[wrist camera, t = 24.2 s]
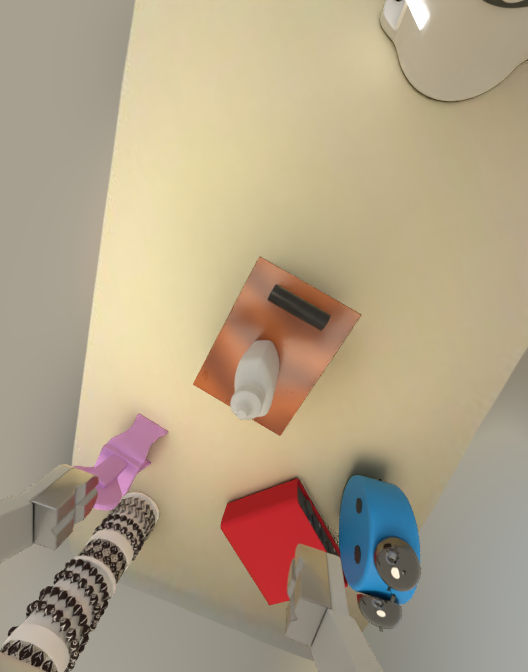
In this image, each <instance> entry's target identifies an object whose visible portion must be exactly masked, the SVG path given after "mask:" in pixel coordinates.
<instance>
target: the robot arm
mask: <svg viewBox="0 0 528 672" xmlns="http://www.w3.org/2000/svg"><path fill="white" fill-rule="evenodd" d="M380 23H381V26H382V28H383V30H384V31H385V32H386V34H387V35H388V36H389V37H390V38H391V40H392V41H393V42H394V44H395V46H396V50H397V54H398V58H399V62H400V65H401V67H402V70H403V72H404V74H405V76H406V77H407V79H408V80H409V82H410V83H411V84H412V85H413V86H414V87H415V88H416V89H417V90H418V91H420V92H421V93H423V94H424V95H426V96H428V97H431V98H433V99H437V100H442V101H460V100H465V99H469V98H472V97H475V96H478V95H480V94H482V93H484V92H486V91H488V90H490V89H491V88H493V87H494V86H496V85H497V84H499V83H500V82H501V81H502V80H503V79H505V78H506V77H507V76H508V75H509V74H510V73H511V72H512V71H513V70H514V69H515V68H516V67H518V66H519V65H520V64H521V63H522V62H524V61H526V60H528V0H400V2H397V1H396V0H386V2H385V4H384V7H383V9H382V12H381V15H380ZM98 483H99V477H98V476H96V475H93V474H90V473H88V472H85V471H82V470H80V469H77V468H74V467H72V466H69V465H66V464H61V465H59V466H57V467H56V468H54V469H53V470H52V471H50V472H49V473H48V474H46V475H45V476H44V477H42V478H41V479H40V480H38V481H37V482H35V483H34V484H33V485H31V486H30V487H29V488H28V489H26V490H25V491H23V492H22V493H21V494H20V495H18V496H17V497H15V496H10V497H8V498H5V499H2V500H0V563H2V562H3V561H5V560H7V559H9V558H11V557H12V556H14V555H16V554H17V553H19V552H21V551H23V550H24V549H26V548H28V547H30V546H31V545H32V544H33V543H34V544H37V545H40V546H43V547H47V548H50V549H53V550H56V549H57V548H58V547H59V546H60V545H61V543H62V542H63V541H64V540H65V539H66V538H67V537H68V536H69V535H70V534H71V533H72V531H73V527H74V524H76V523H78V522H80V521H82V520H84V518H85V517H86V516H87V515H88V514H89V513H90V511H91V510H92V508H93V507H94V505H95V503H96V500H97V496H98V492H97V490H96V488H95V486H96V485H97V484H98ZM287 594H288V596H289V599H290V600H289V603H288V606H287V608H286V627H285V636H286V637H288V638H290V639H293V640H295V641H298V642H300V643H302V644H305V645H307V646H310V647H311V652H312V655H313V658H314V661H315V664H316V666H317V669H318V672H383V670H382V668H381V666H380V664H379V663H378V661H377V659H376V657H375V655H374V653H373V652H372V650H371V648H370V646H369V644H368V643H367V641H366V639H365V637H364V635H363V634H362V632H361V630H360V628H359V626H358V624H357V623H356V621H355V619H354V618H353V617H351V616H349V611H348V604H347V598H346V591H345V584H344V578H343V571H342V564H341V560H340V557H338V556H336V555H333V554H330V553H326V552H324V551H322V550H319V549H315V548H312V547H309V546H306V545H303V544H300V543H299V544H298V545H297V547H296V550H295V558H294V559H292V562H291V565H290V569H289V574H288V583H287ZM0 672H46V671H44V670H42V669H39V668H37V667H35V666H32V665H30V664H28V663H25V662H23V661H21V660H18V659H16V658H13V657H11V656H9V655H6V654H4V653H2V652H0Z"/></svg>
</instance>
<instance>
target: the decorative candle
mask: <svg viewBox="0 0 528 672" xmlns="http://www.w3.org/2000/svg"><path fill="white" fill-rule="evenodd" d="M110 512H111V514H109V515H108V517H107V518H105V519H104V520H103V521H102V524H101V525H100V526H98V527H97V528H96V529H95V532H94V533H93V536H92V537H91V538H90V539H89V541H88V542H87V543H86V546H85V548H84V549H83V550H82V551H81V552H80V553H79V555H78V556H77V557H74V558H73V559H71V560H70V561H69V562H67V563H66V564H65V569H64V570H63V571H61V572H60V573H58V574H56V575H55V577H54V586H52V587H50V586H48V587H46V588H45V589H43V590H42V591H41V592H40V596H39V600H36V601H34V602H33V603H31V604H30V605H28V607H27V613H26V616H27V619H26V621H25V622H24V623H23V624H21V625H20V626H17V627H12V628H11V629H10V630H9V632H8V636H9V637H8V639H7V640H6V641H5V642H4V643H3V646H2V649H1V651H0V652H2V653H4V654H6V655H9V656H11V657H13V658H16V659H18V660H21V661H23V662H25V663H28V664H30V665H32V666H35V667H37V668H39V669H42V670H44V671H46V672H69V671H71V670H72V669H73V668H74V665H75V661H76V660H77V659H78V657H79V653H81V652H82V651H83V650H84V645H86V643H87V642H88V639H89V637H88V634H89V632H90V631H93V630H94V629H95V628H96V625H97V622H98V621H99V619H100V617H101V616H102V615H103V614H104V610H105V609H106V608H107V606H108V601H107V600H108V599H110V598H111V597H112V596H113V594H114V592H115V589H116V584H117V582H118V580H119V579H120V577H121V576H122V574H123V573H124V572H125V571H126V569H127V568H128V566H129V564H130V563H131V561H134V560H135V558H136V556H137V554H138V551H140V550H141V547H142V546H143V544H144V542H145V541H146V540H147V539H148V536H149V535H150V533H151V532H152V530H153V528H154V526H155V524H156V523H157V521H158V518H159V509H158V507H157V505H156V503H155V502H154V501H153V500H152V499H151V498H150V497H149V496H147V495H145V494H143V493H140V492H130V493H127V494H126V495H125V496H123V497H122V498H121V501H120V502H119V504H118V505H117V506H116V507H115V508H114V509H112V510H111V511H110ZM102 605H103V606H102ZM101 606H102V608H101ZM91 623H92V624H91ZM90 624H91V625H90ZM89 626H90V627H89ZM82 637H83V639H82ZM81 639H82V642H81V644H80V645H79V642H80V640H81ZM69 662H70V663H69Z"/></svg>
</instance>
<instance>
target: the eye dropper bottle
mask: <svg viewBox="0 0 528 672" xmlns="http://www.w3.org/2000/svg"><path fill="white" fill-rule="evenodd" d="M278 375H279V357H278V353H277V350H276V347H275V345H274V344H273V342H272V341H270V340H258V341H255V342H254V343H253V344H252V345H251V347H250V348H249V349H248V350H247V352H246V353H245V354H244V355H243V357H242V358H241V360H240V362H239V364H238V367H237V370H236V374H235V382H234V387H235V393H234V395H233V396H232V399H231V402H230V403H231V404H230V406H231V409H232V412H233V413H234V414H235V415H236V416H237V417H238V419H240V420H243V419H244V420H249V419H250V420H251V419H254V418H255V417H262V416H265V415H266V414H267V413H268V411H269V409H270V407H271V404H272V400H273V396H274V392H275V388H276V384H277V379H278Z"/></svg>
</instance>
